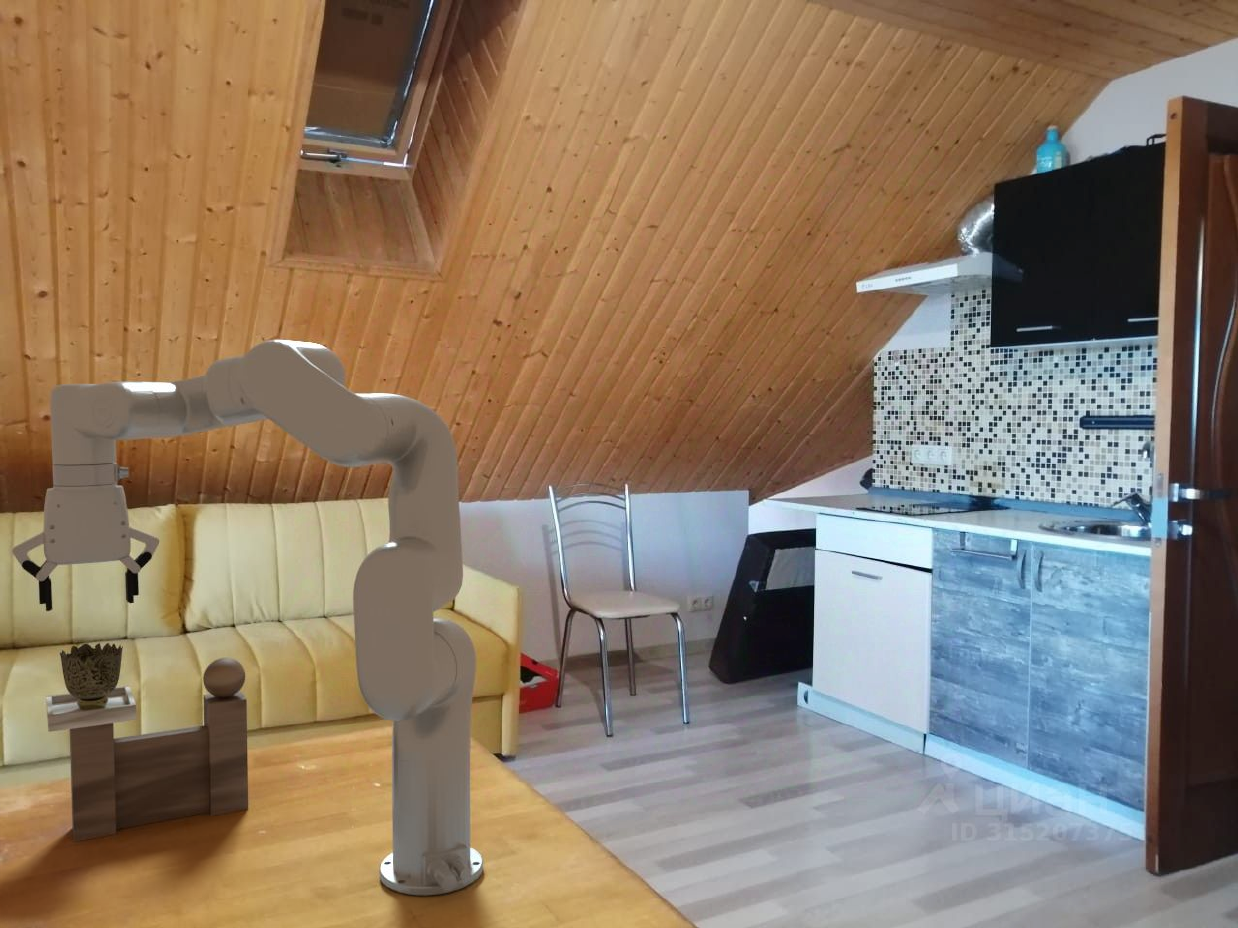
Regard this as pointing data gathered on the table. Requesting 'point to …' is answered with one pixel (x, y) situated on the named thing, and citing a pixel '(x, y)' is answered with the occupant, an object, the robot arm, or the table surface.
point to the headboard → (155, 759)
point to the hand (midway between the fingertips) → (90, 605)
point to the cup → (91, 673)
